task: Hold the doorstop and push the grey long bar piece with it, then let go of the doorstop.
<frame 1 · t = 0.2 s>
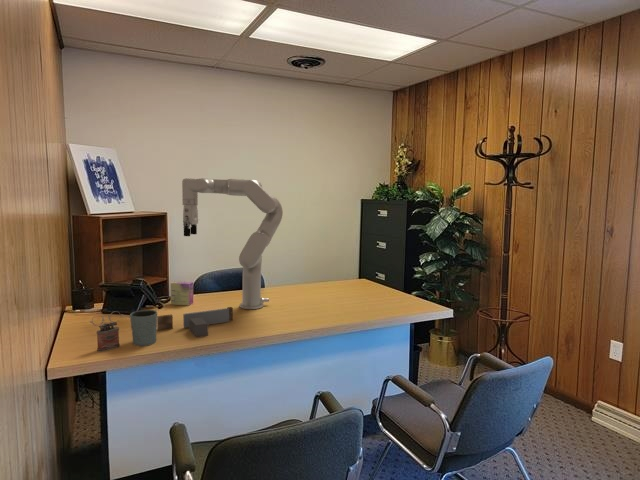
hand: (190, 235, 223), 37 cm above the table, tool pointing down, fingers open, 9 cm apart
doorstop: (198, 333, 183), on the table
grey long bar piece: (206, 317, 194), point 3 cm above the table, hinge at 0.0°
lighter: (108, 348, 163), on the table
grey-green cup: (144, 342, 171), on the table
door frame: (206, 325, 194), on the table
box: (182, 304, 228), on the table
eyeglasses: (115, 328, 188), on the table
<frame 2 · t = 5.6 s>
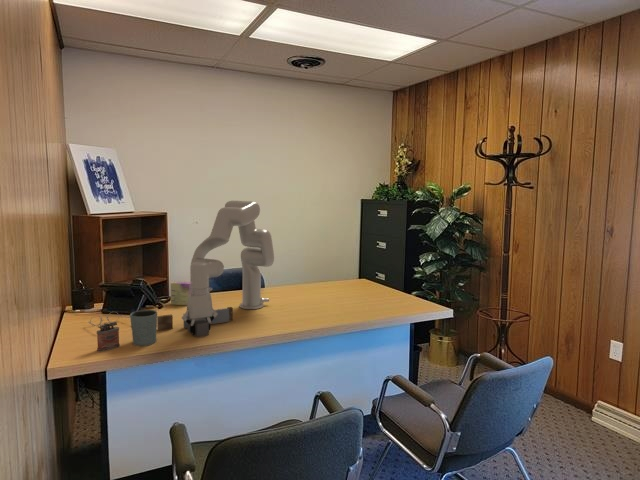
hand: (200, 332, 181), 1 cm above the table, tool pointing down, fingers closed on doorstop, 5 cm apart
doorstop: (198, 333, 183), on the table, touching gripper
everything else where it was.
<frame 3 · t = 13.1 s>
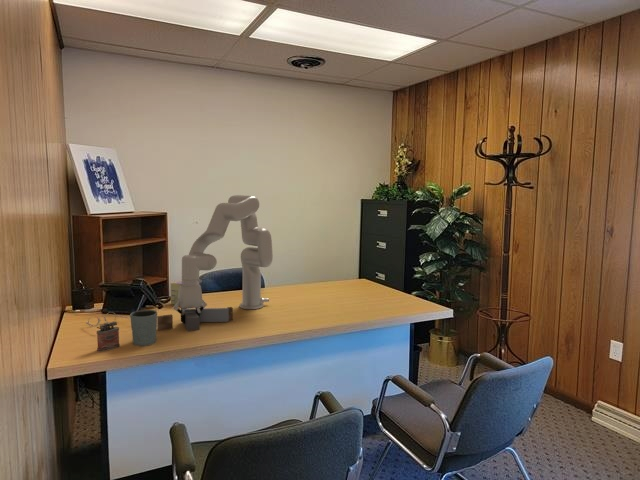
hand: (190, 321, 193), 2 cm above the table, tool pointing down, fingers closed on doorstop, 5 cm apart
doorstop: (191, 326, 191), on the table, touching gripper
grey long bar piece: (206, 314, 198), point 3 cm above the table, hinge at 22.7°, touching gripper
when the fingers open (2 cm above the table, at t = 14.6 s): doorstop stays where it is, on the table.
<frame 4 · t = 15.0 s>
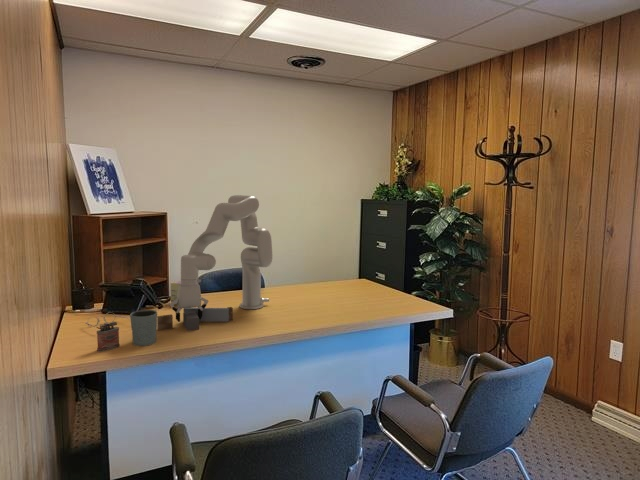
hand: (189, 319, 193), 2 cm above the table, tool pointing down, fingers open, 9 cm apart
doorstop: (191, 327, 191), on the table
grey long bar piece: (206, 314, 199), point 3 cm above the table, hinge at 27.9°, touching gripper
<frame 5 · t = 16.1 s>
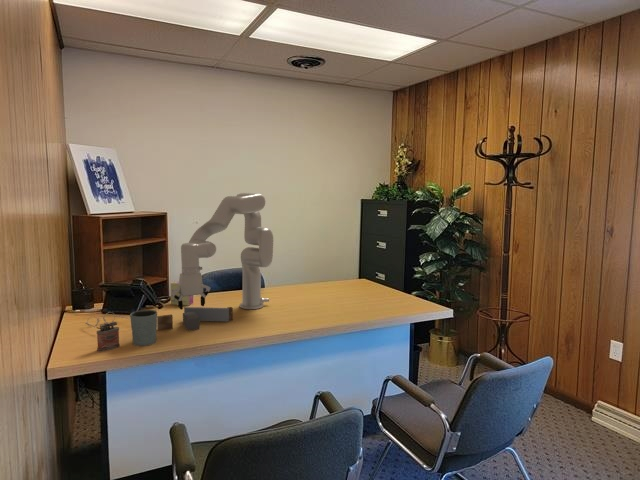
hand: (191, 307, 194), 8 cm above the table, tool pointing down, fingers open, 9 cm apart
grey long bar piece: (206, 313, 200), point 3 cm above the table, hinge at 31.1°
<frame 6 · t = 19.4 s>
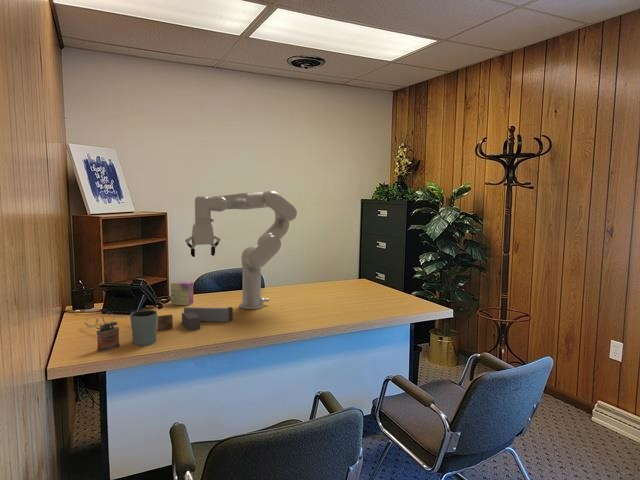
hand: (203, 256, 212), 28 cm above the table, tool pointing down, fingers open, 9 cm apart
grey long bar piece: (206, 314, 199), point 3 cm above the table, hinge at 29.5°
at the end: grey long bar piece at +29° (first picture: +0°); doorstop inside the target area (4.8 cm from its centre), on the table; doorstop tilted 0° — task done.
